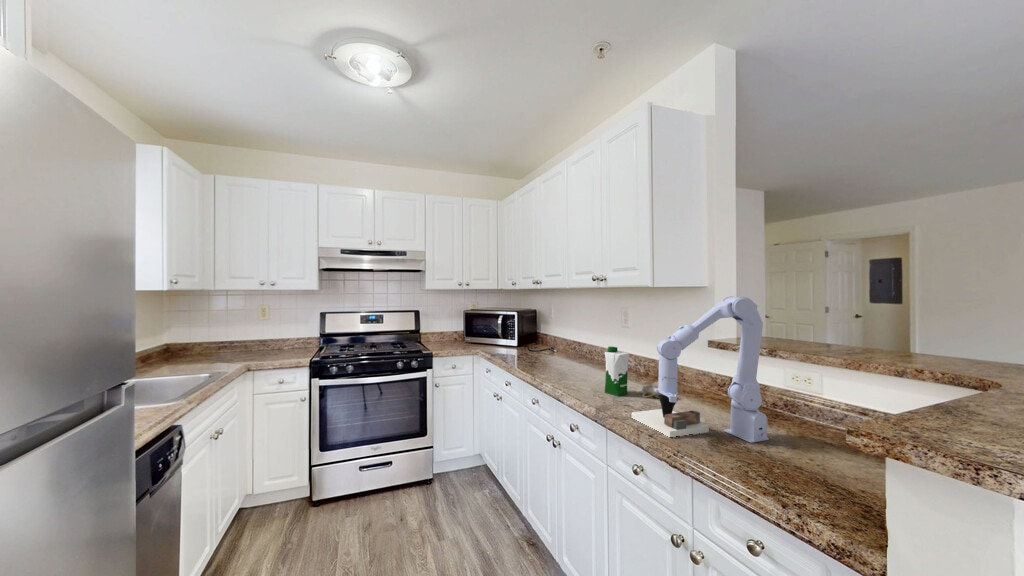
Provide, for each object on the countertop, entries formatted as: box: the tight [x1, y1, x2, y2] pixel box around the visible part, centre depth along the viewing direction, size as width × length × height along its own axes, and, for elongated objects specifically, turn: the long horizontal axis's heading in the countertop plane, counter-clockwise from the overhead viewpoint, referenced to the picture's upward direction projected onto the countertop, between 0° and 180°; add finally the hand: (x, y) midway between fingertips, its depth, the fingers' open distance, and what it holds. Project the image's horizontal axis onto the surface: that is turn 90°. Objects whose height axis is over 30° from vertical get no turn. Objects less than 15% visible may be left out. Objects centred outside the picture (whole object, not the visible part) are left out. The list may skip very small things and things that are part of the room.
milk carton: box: [604, 346, 630, 397], centre depth 159 cm, size 9×9×20 cm
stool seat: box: [631, 408, 710, 438], centre depth 122 cm, size 18×16×4 cm
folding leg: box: [664, 410, 701, 427], centre depth 118 cm, size 13×3×3 cm, turn 113°
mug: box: [641, 381, 662, 399], centre depth 155 cm, size 8×10×10 cm
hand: (666, 417), depth 119 cm, fingers closed
